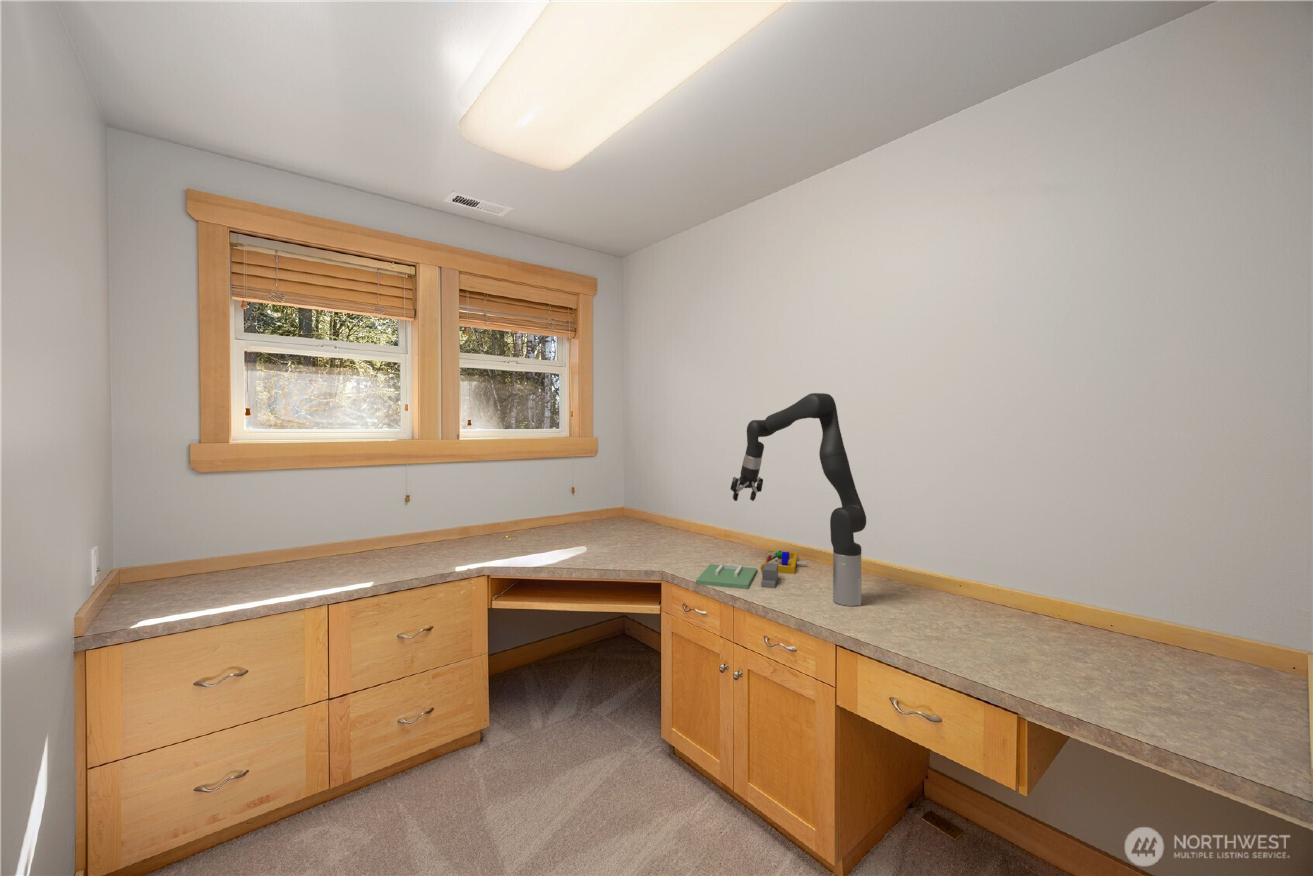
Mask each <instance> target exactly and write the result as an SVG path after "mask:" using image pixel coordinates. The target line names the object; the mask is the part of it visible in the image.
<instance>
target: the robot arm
mask: <svg viewBox="0 0 1313 876" xmlns="http://www.w3.org/2000/svg"><path fill="white" fill-rule="evenodd" d="M802 419H819V422H820V426H821V431H822V438H821V441H820V442H821V443H820V447H819V455H818V456H819V460H820V465H821V468H822V472H823V475H825V478H826V479H827V481H828V482H829V483H830V485H831V486H833V488H834V489H835V490H836V493H837V495H838V496H839V499H840V503H841V507H837V508H835V509H834V510H833V511H832V512H831V514H830V518H829V519H830V521H829V527H830V529H829V530H830V542H831V545H832V548H833V549H832V550H833V551H832V552H833V553H832V561H833V562H832V602H834V604H838V605H840V606H841V605H842V606H847V607H856V606H862V546H861V545H860V544H859V543H857V542H855V540H854V539H855V537H854V536H855V535H854V533H859V532H862V531H863V530H864V529H865V528H866V526H867V516H866V512H865V509H864V506H863V505H862V502H861V499H860V496H859V492H858V491H857V488H856V484H855V482H854V477H853V474H852V470H851V466H850V461H849V459H848V454H847V452H846V448H845V445H844V439H843V437H842V432H841V427H840V423H839V416H838V410H837V404H836V402H835V399H834V397H833V396H832V395H831V394H829V393H825V392H824V393H823V392H822V393H820V392H819V393H818V392H813V393H808V394H807V395H805V396H803V397H802V398H800V399H799V400H797V401H796V402H795V403H793V404H791V405H790V406H788V407H786V408H784V409H781V410H778V411H776V412H774V413H772V414H770V415H768V416H767V417H766V418H765V419H752V420H751V421H749V423H748V424H747V425H746V443H747V445H746V450H745V455H744V456H743V460H742V464H741V465H742V466H741V469H740V476H739V477H736V476H733V477H732V481H731V485H730V490H731V492H733V494H732V499H733V501H734V502H737V501H738V499H739V494H740V492H741V491H742V490H744V489H751V490H752V491H751V492H750V493H751V494H750V498H749V500H750V501H752V502H753V501H756V498H757V493H760V492H762V489H763V484H764V478H762V477H760V476H759V474H760V470H761V465H762V459H763V458H762V457H763V454H764V449H765V445H764V443H763V442H761V441H759V438H765V437H769V436H771V435H773V434H775V433H776V432H778V431H782V430H784V429H787V428H788V427H791V426H792V425H793V424H794V423H795V422H797V421H799V420H800V421H801V420H802Z"/></svg>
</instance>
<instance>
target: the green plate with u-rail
mask: <svg viewBox="0 0 1313 876" xmlns="http://www.w3.org/2000/svg"><path fill="white" fill-rule="evenodd" d="M757 573H758V568H757V567H748V566H747V567H746V566H743V565H740V564H729V563H720V564H713V563H710V564H709V565H708V566H707V567H706V568H705V569H704V570H703V572H702V573H701V574H700V575H699V576H698V577H697V578H696V579H695V584H696V585H704V586H713V587H714V586H715V587H723V588H732V589H741V590H742V589H744V590H748V589H749V587H750V586H751V584H752V582H753V580H754V579H755V576H756V575H757Z"/></svg>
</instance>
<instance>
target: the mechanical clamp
mask: <svg viewBox="0 0 1313 876" xmlns="http://www.w3.org/2000/svg"><path fill="white" fill-rule="evenodd" d="M798 554H799V553H798V552H790V551H783V550H782V549H781V548H778V549H776V550H771V549H769V550H768V551H766V554H765V557H766V560H765V562H762V563H761V564H760V565H761V566H760V568H759V569H760V571H761V572H762V569H763V567H764V565H765V563H773V564H777V563H779V560H781V563H780V564H778V574H788V575H790V574H791V575H795V573H796V568H797V566H805V567H807V565H808V561H798V559H799V558H798Z"/></svg>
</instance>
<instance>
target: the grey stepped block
mask: <svg viewBox="0 0 1313 876" xmlns="http://www.w3.org/2000/svg"><path fill="white" fill-rule="evenodd" d="M778 565H779V563H775V564H773V563H765V565H764V567H763V569H762V571H761V572H762V573H761V575H762V578H761V581H760V582H761V583H760V587H761V588H767V589H776V586H777V583H778V581H779V573H778Z"/></svg>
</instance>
